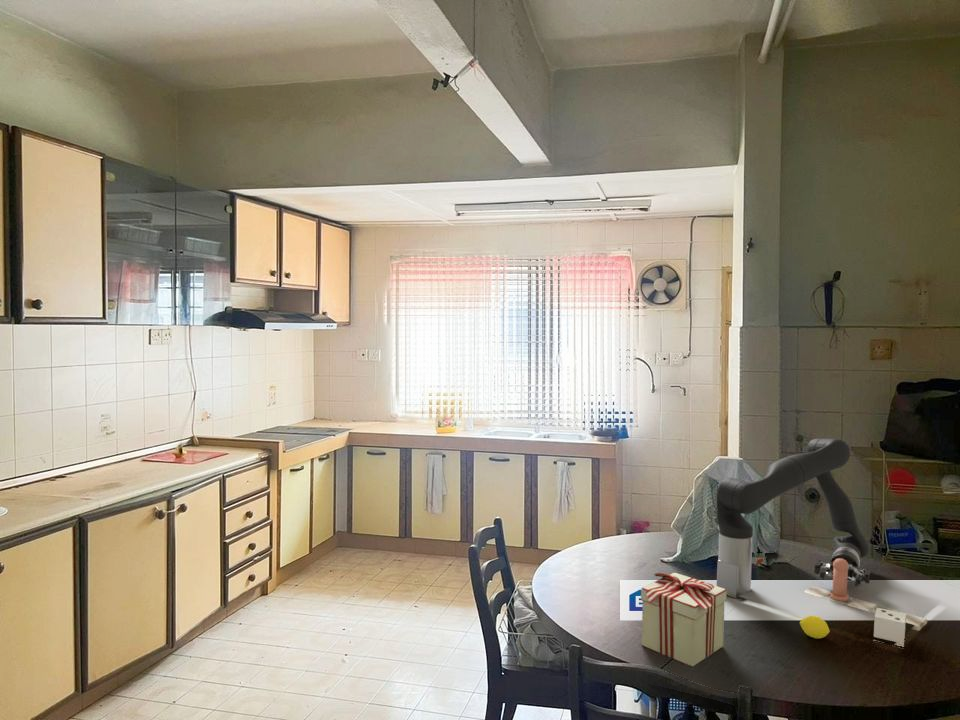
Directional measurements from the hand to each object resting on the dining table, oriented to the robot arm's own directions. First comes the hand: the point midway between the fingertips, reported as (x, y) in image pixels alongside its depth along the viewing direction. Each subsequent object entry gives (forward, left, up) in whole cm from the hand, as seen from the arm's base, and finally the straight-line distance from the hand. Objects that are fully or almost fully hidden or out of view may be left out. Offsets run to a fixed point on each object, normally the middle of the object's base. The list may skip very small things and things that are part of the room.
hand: (839, 579), depth 202 cm
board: (+1, -6, -7) cm, 9 cm away
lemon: (-26, -4, -7) cm, 27 cm away
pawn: (+1, 0, -6) cm, 6 cm away
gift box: (-57, +15, -7) cm, 60 cm away
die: (-14, -17, -7) cm, 23 cm away
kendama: (+20, +32, -8) cm, 38 cm away
